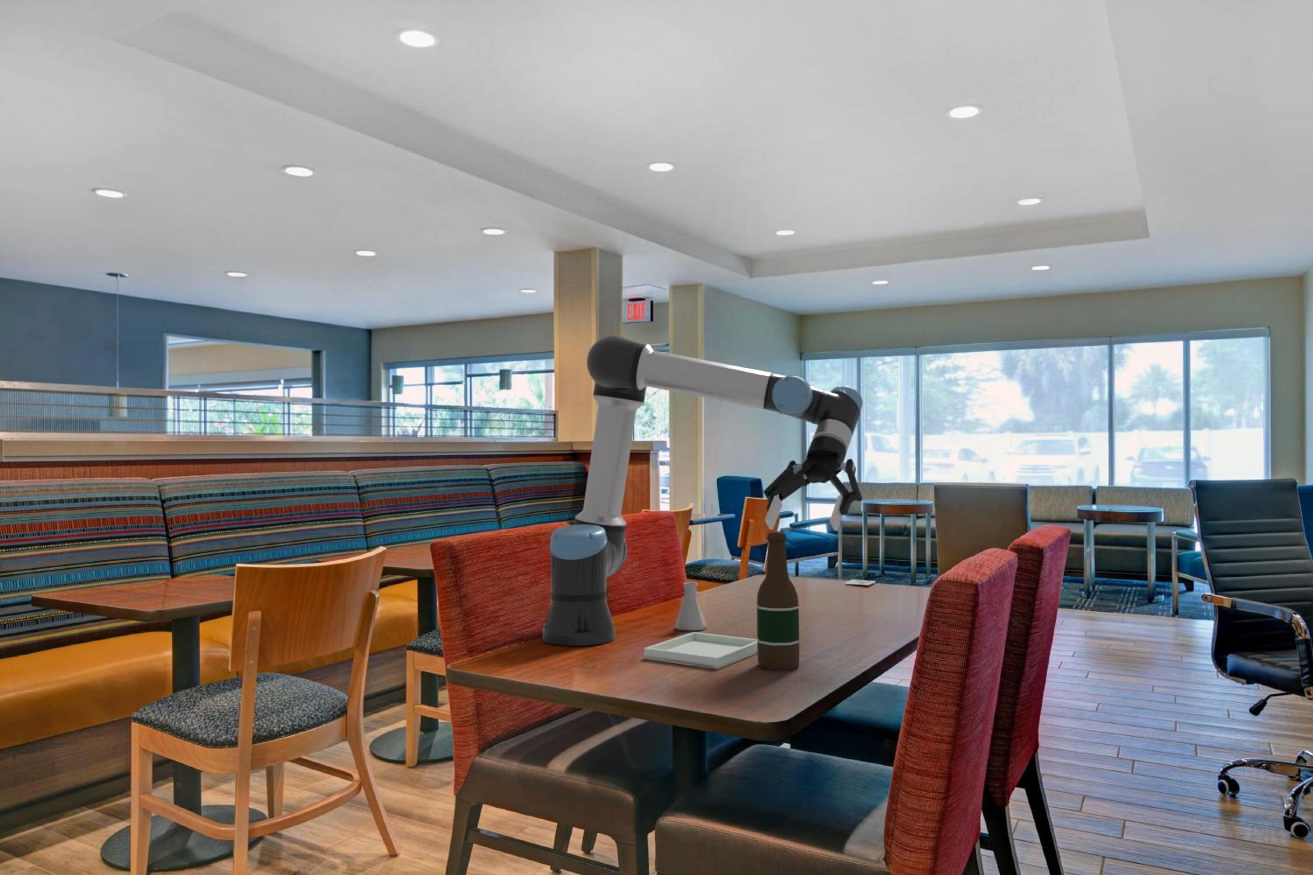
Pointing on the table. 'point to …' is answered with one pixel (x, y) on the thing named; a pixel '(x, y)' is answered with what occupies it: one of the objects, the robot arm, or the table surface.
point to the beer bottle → (777, 611)
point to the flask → (690, 610)
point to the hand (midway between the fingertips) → (800, 525)
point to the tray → (702, 650)
